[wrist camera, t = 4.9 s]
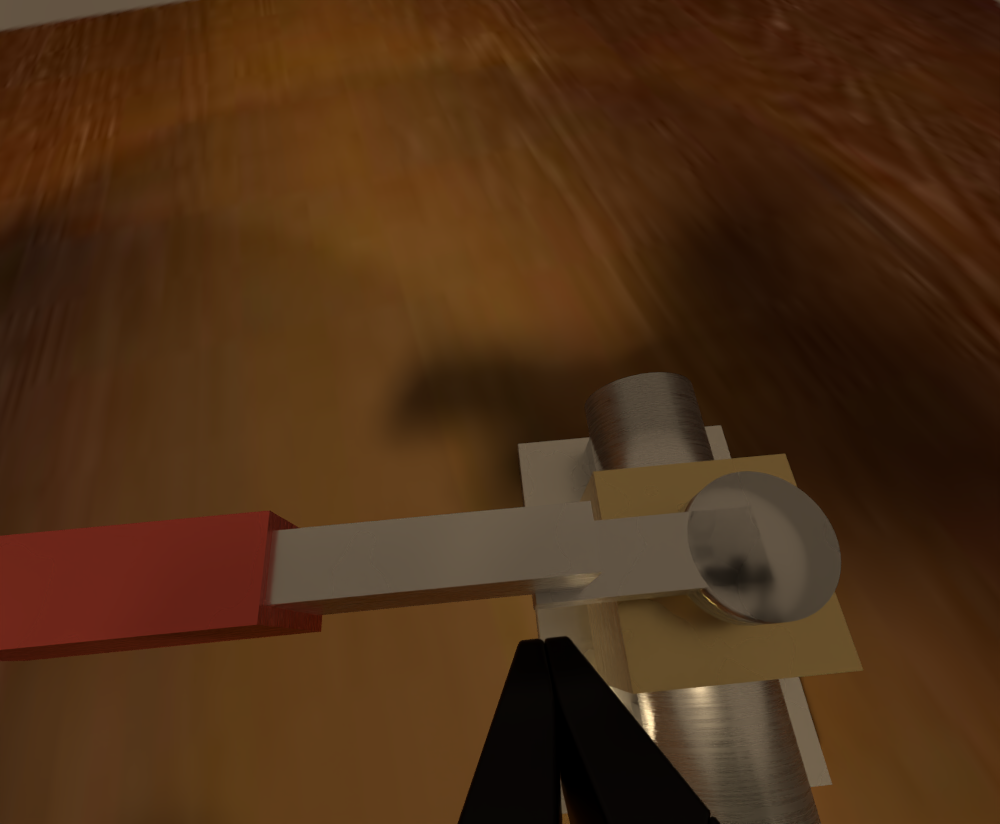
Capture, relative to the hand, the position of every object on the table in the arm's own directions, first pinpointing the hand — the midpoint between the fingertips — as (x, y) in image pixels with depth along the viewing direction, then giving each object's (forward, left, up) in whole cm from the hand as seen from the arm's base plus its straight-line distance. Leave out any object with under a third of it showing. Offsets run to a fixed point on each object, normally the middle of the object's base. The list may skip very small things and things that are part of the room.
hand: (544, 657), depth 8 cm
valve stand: (+2, -5, -12) cm, 13 cm away
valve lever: (+2, +2, -3) cm, 4 cm away
